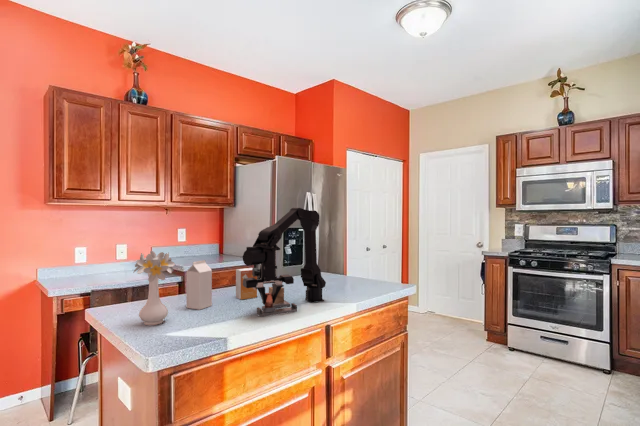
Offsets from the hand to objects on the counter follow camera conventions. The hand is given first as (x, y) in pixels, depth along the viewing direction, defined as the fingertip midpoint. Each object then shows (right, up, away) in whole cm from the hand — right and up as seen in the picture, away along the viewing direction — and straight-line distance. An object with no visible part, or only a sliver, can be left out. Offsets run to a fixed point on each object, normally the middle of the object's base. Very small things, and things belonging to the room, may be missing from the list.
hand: (268, 303), depth 138 cm
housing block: (+1, -3, +14) cm, 14 cm away
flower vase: (-38, -4, -11) cm, 40 cm away
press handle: (0, -3, 0) cm, 3 cm away
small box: (-14, -4, +28) cm, 31 cm away
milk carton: (-30, -4, +10) cm, 32 cm away
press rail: (+3, -4, +2) cm, 5 cm away
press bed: (+1, -4, +14) cm, 15 cm away
